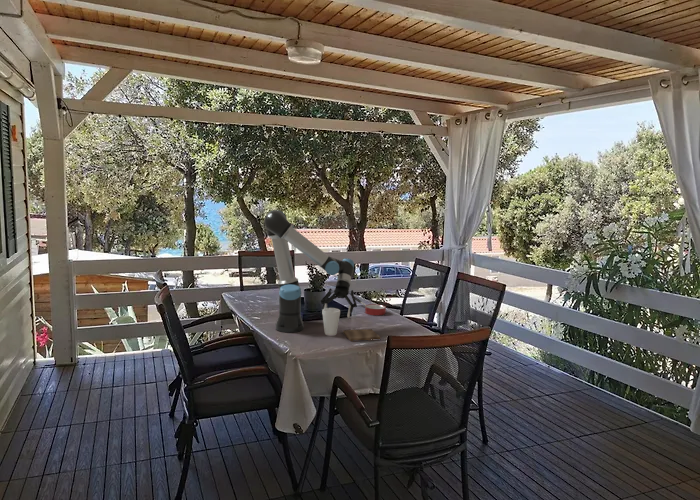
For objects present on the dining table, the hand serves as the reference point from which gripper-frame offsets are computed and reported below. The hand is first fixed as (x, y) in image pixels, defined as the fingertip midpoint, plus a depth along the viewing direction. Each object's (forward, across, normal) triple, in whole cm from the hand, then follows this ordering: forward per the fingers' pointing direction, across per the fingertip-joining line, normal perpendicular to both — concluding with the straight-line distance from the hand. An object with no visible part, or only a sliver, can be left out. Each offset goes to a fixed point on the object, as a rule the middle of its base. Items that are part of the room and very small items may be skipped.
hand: (335, 316), depth 261 cm
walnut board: (+8, -15, -5) cm, 17 cm away
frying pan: (-32, -5, -47) cm, 57 cm away
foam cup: (+9, +2, -4) cm, 10 cm away
